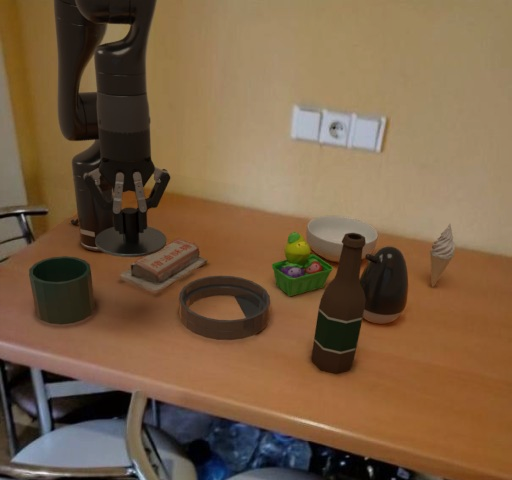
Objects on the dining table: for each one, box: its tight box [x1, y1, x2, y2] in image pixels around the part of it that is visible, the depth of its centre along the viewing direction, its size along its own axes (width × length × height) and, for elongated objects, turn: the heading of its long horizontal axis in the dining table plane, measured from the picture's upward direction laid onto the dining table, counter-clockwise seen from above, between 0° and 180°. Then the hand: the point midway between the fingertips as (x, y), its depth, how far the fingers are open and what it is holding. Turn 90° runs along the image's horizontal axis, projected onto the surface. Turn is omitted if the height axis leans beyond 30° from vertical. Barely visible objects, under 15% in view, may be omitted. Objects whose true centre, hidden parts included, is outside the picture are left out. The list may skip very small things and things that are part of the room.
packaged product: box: [119, 238, 208, 295], centre depth 121 cm, size 18×5×10 cm
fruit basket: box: [271, 231, 334, 297], centre depth 118 cm, size 11×9×11 cm
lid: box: [95, 207, 168, 258], centre depth 92 cm, size 12×12×6 cm
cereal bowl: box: [305, 215, 379, 264], centre depth 133 cm, size 17×17×7 cm
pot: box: [28, 255, 96, 326], centre depth 105 cm, size 11×11×9 cm
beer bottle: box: [311, 233, 366, 375], centre depth 93 cm, size 8×8×24 cm
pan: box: [178, 275, 271, 341], centre depth 108 cm, size 17×17×4 cm
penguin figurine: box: [360, 245, 409, 325], centre depth 109 cm, size 10×10×15 cm
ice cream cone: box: [429, 223, 456, 288], centre depth 121 cm, size 5×5×15 cm
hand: (130, 231), depth 93 cm, fingers closed on lid, 2 cm apart
